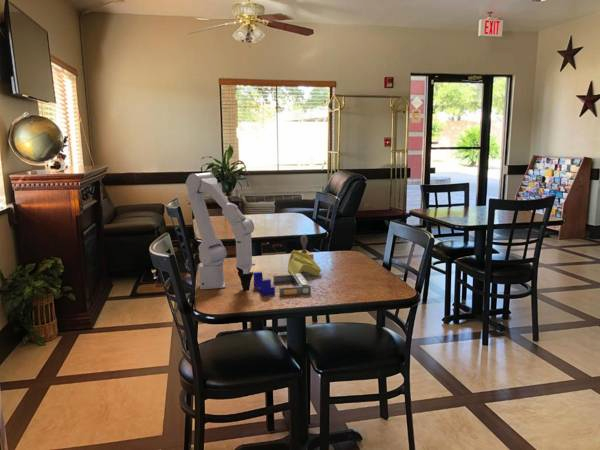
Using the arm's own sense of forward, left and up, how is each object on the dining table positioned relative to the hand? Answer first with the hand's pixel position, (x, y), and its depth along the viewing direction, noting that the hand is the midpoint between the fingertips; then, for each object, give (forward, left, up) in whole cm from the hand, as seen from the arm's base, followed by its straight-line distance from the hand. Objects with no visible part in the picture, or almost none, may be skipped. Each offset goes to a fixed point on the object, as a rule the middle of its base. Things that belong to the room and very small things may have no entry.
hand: (245, 287), depth 181 cm
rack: (+17, 0, -2) cm, 17 cm away
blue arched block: (+7, 0, -2) cm, 7 cm away
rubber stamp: (+31, +41, -2) cm, 51 cm away
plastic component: (+27, +22, -2) cm, 35 cm away
